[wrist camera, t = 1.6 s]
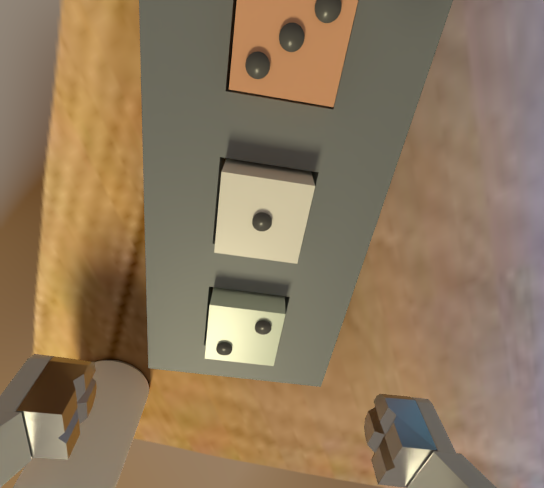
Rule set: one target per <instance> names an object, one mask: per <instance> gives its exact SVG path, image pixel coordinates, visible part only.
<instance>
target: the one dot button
mask: <svg viewBox="0 0 544 488" xmlns="http://www.w3.org/2000/svg"><path fill="white" fill-rule="evenodd" d="M314 189H315V183H314V180H313V177H312V173H311V171H307V170H300V169H294V168H287V167H281V166H275V165H268V164H262V163H255V162H249V161H242V160H236V159H229V158H227V159H226V161H225V164H224V166H223V169H222V172H221V182H220V193H219V205H218V216H217V227H216V238H215V249H214V253H220V254H228V255H235V256H243V257H250V258H258V259H265V260H273V261H280V262H287V263H295V264H297V263H298V258H299V254H300V250H301V245H302V241H303V237H304V233H305V228H306V224H307V220H308V215H309V211H310V207H311V202H312V198H313V194H314Z"/></svg>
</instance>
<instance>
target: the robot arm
mask: <svg viewBox="0 0 544 488" xmlns="http://www.w3.org/2000/svg"><path fill="white" fill-rule="evenodd" d="M95 371H96V368H95V362H90V361H83V360H76V359H69V358H62V357H55V356H46V355H38V354H34V355H32V356H31V357H30V358H28V359H27V361H26V362H25V363H24V365H23V366H22V368H21V369H20V370H19V371H18V373H17V374H16V375H15V377H14V378H13V379H12V381H11V382H10V384H9V385H8V386H7V388H6V389H5V390H4V392H3V393H2V395H1V396H0V487H2V486H3V484H5V483H6V482H7V481H8V480H10V479H11V478H12V477H13V476H14V475H15V474H16V473H17V472H19V471H20V470H21V469H22V468H23V467H24V466H26V465H27V464H28V463H29V462H30V461H31V460H32V458H49V459H69V457H70V455H71V452H72V450H73V448H74V446H75V444H76V442H77V440H78V438H79V435H80V426H79V424H80V423H81V422H83V421H84V420H85V419H87V418H88V416H89V414H90V411H91V409H92V407H93V403H94V400H95V396H96V389H97V384H96V381H95V380H94V379H93V378H92V377H93V375H94V373H95ZM374 404H375V407H374V408H373V409H371V410H369V411H368V413H367V416H366V418H365V425H364V430H365V437H366V441H367V445H368V446H369V447H370V448H371V449H372V450H373V451H374V455H373V457H372V464H373V468H374V471H375V475H376V478H377V482H378V484H379V485H388V486H397V487H406V488H496V487H495V486H494V485H493V484H492V483H491V482H490V481H489V480H488V479H487V478H486V477H485V476H484V475H483V474H482V473H481V472H480V471H478V470H477V469H476V468H475V467H474V466H473V465H472V464H471V463H470V462H469V461H468V460H467V459H466V458H465V457H464V456H463V455H462V454H458V453H456V452H455V450H454V448H453V446H452V444H451V441H450V439H449V437H448V435H447V433H446V431H445V429H444V427H443V425H442V423H441V421H440V419H439V417H438V415H437V413H436V411H435V409H434V406H433V404H432V403H431V402H430V401H429V400H428V399H422V398H413V397H407V396H397V395H387V394H379V395H377V396H376V398H375V400H374Z"/></svg>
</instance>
